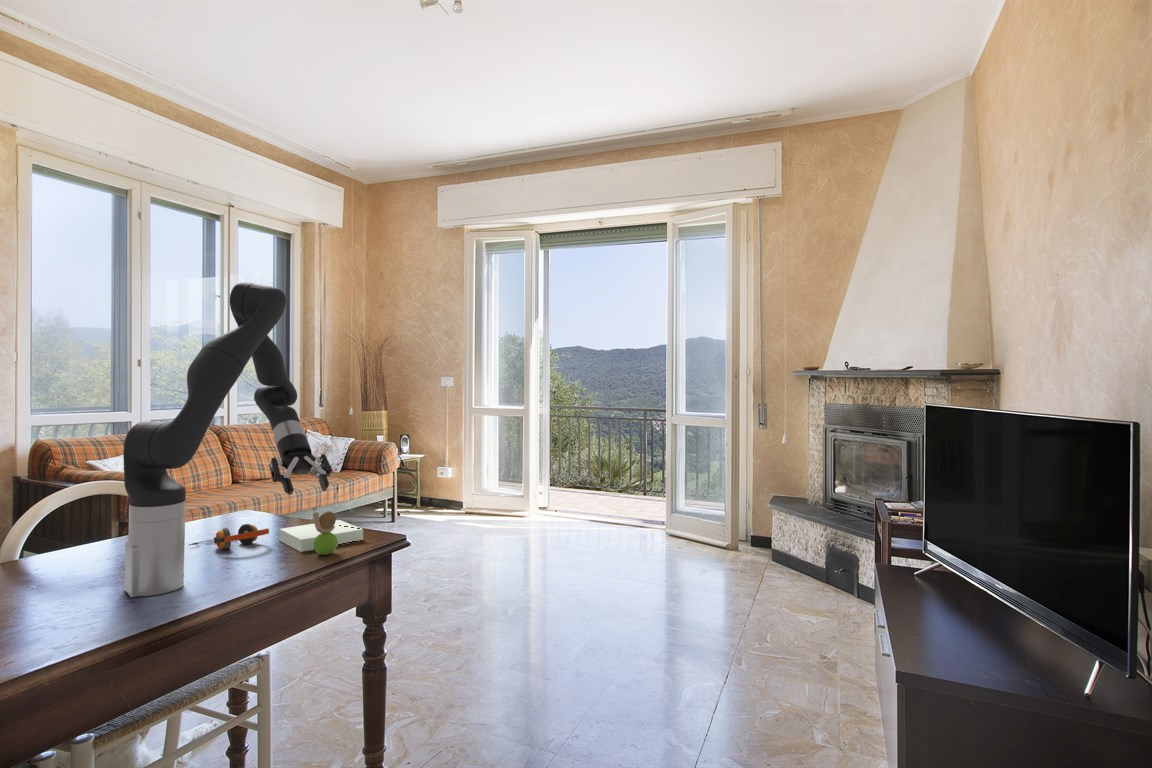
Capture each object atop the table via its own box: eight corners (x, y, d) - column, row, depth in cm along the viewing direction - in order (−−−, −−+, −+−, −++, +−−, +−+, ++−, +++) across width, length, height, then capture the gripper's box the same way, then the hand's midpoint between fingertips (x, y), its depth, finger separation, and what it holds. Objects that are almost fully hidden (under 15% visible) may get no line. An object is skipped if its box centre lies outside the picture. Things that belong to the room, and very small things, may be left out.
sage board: (300, 552, 147) (301, 539, 147) (279, 540, 156) (279, 528, 156) (362, 540, 158) (363, 529, 158) (339, 530, 168) (339, 519, 168)
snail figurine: (304, 556, 143) (305, 506, 143) (327, 550, 149) (328, 501, 149) (320, 560, 141) (321, 509, 141) (342, 553, 146) (343, 504, 146)
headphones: (246, 523, 164) (285, 517, 153) (248, 542, 163) (287, 537, 152) (180, 535, 150) (217, 530, 139) (182, 556, 149) (219, 552, 139)
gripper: (267, 433, 152) (283, 485, 144) (322, 431, 162) (341, 479, 155) (259, 452, 156) (274, 503, 148) (314, 448, 166) (331, 496, 158)
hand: (308, 491), depth 151 cm, fingers open, 8 cm apart
